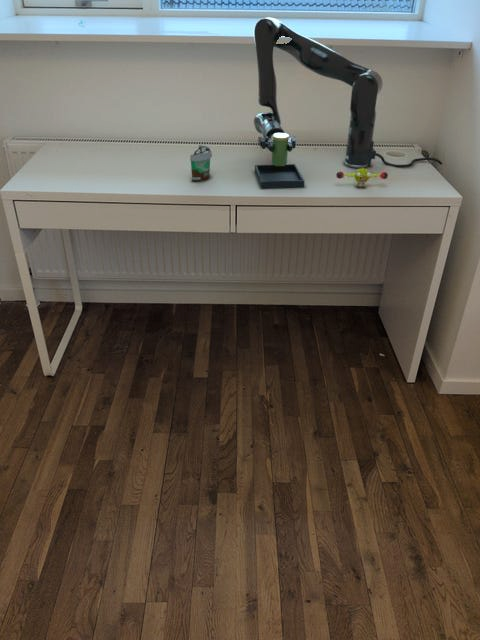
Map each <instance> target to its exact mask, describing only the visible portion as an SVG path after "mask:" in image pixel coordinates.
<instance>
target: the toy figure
mask: <svg viewBox="0 0 480 640" xmlns="http://www.w3.org/2000/svg"><path fill="white" fill-rule="evenodd" d="M344 177H347V178H353V179H354V180H355V182H356V183H357V185H356V187H357V188H360V184H361V188H365V184H366V183H367V182H368V181H369V179H371V178H377V177H380V179H381V180H386V179H388V177H389V174H388V173H387V172H386V171H383V172H381V173H380V174H378V173H370V171H369V169H367V167H365V168H357V169H356V171H354V173H347V174H345V173H344V172H343V171H337V173H336V178H337V179H338V180H339V179H343V178H344Z"/></svg>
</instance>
